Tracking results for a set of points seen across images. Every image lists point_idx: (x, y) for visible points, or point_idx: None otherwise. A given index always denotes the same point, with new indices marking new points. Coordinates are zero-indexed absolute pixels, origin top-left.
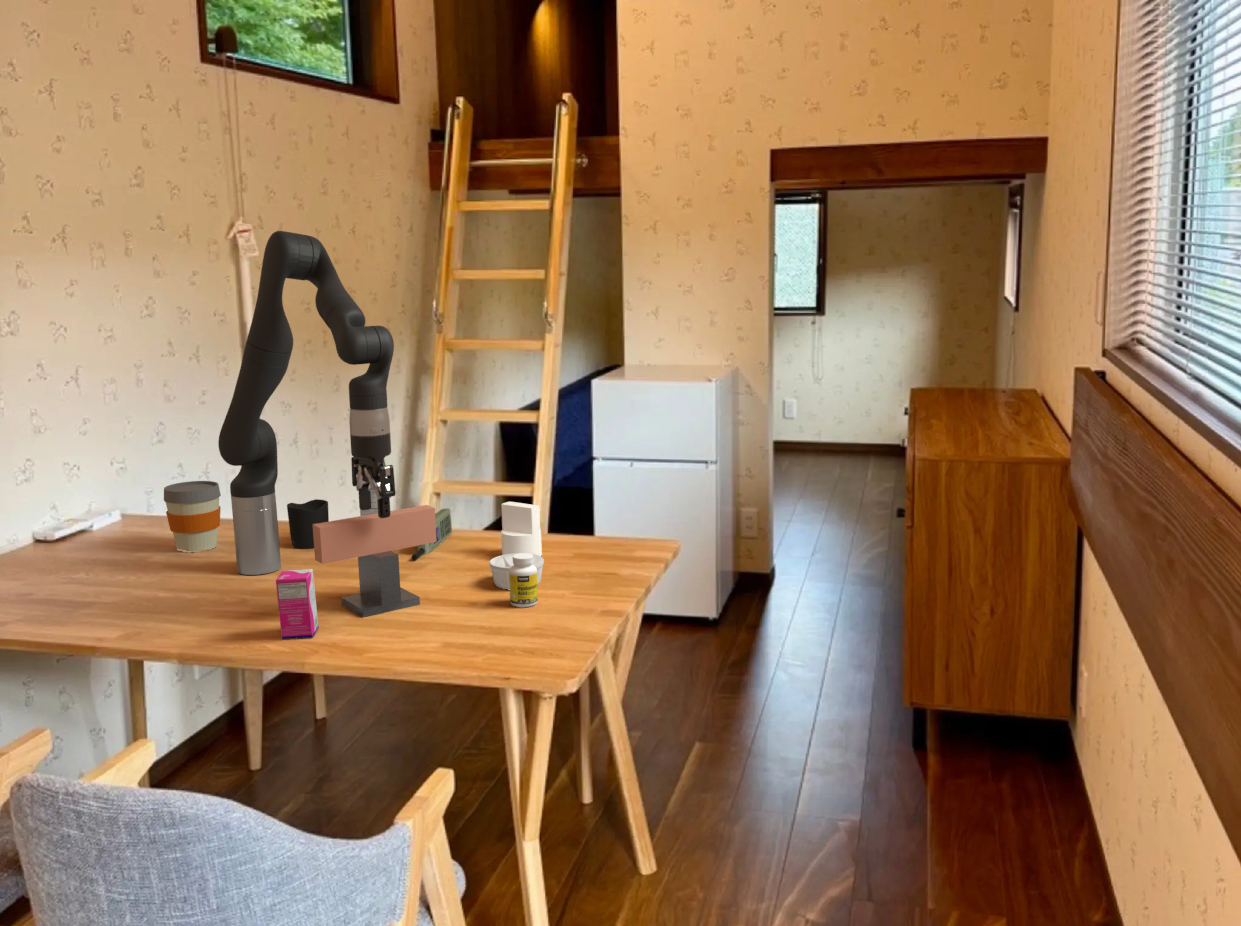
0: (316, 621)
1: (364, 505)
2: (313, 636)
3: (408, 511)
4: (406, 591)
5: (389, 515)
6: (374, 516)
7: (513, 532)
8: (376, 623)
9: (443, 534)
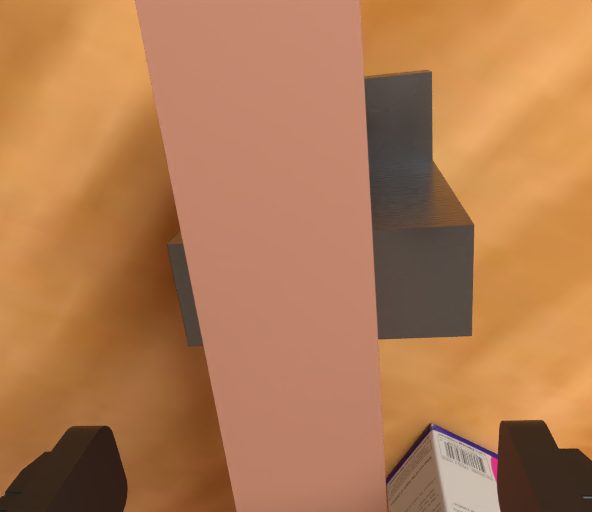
0: (460, 454)
1: (103, 502)
2: None
3: (318, 116)
4: None
5: (540, 427)
6: (317, 447)
7: None
8: (519, 283)
9: None
